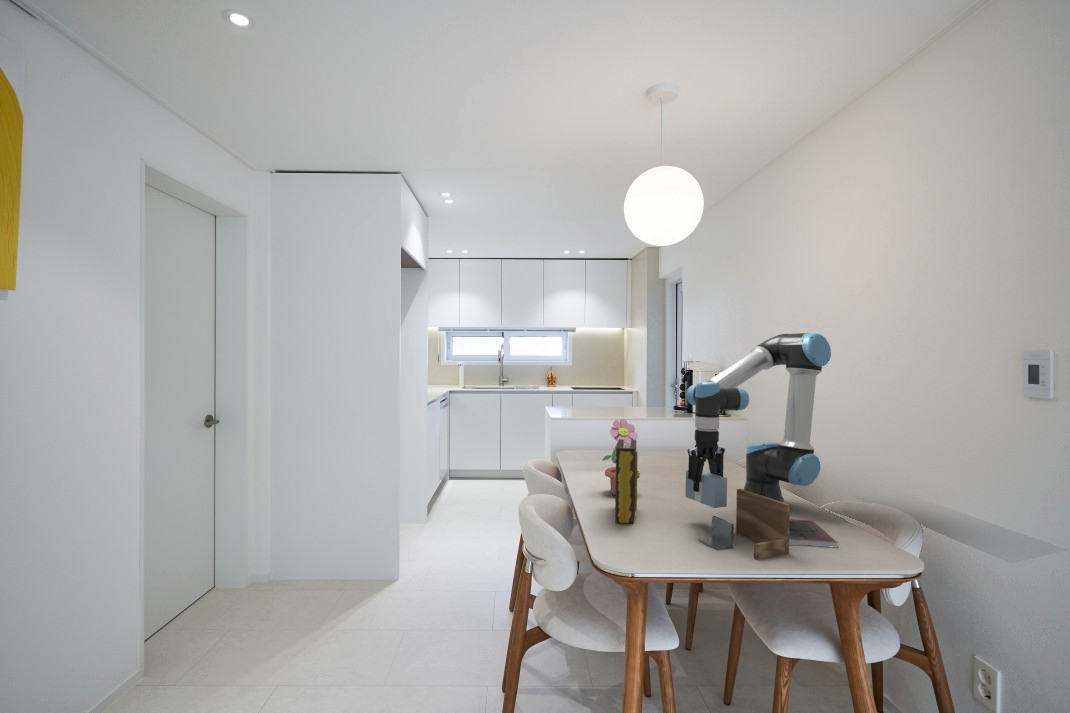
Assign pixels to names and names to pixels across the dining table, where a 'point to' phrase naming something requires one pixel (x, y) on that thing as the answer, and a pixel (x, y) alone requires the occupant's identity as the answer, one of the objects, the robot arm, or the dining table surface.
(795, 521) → the picture frame
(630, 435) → the decorative flower
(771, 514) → the shelf
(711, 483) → the boxed book
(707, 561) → the dining table surface
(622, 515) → the book
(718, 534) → the bookend
